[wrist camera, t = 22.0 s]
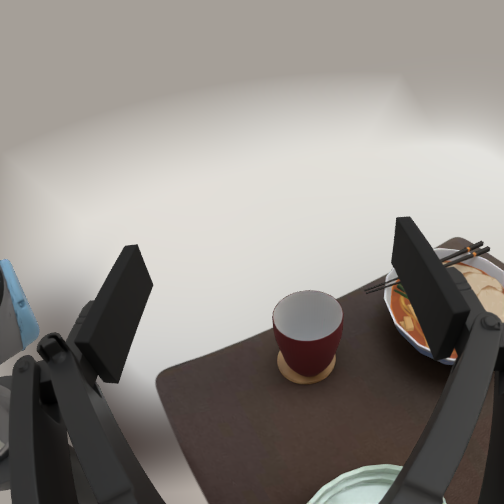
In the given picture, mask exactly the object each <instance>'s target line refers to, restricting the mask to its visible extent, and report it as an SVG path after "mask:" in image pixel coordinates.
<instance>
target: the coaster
mask: <svg viewBox="0 0 504 504" xmlns="http://www.w3.org/2000/svg"><path fill="white" fill-rule="evenodd" d="M277 362H278V368H279V370H280V372H281V374H282V375H283V376H284V377H285V378H287V379H288V380H290V381H292V382H294V383H297V384H313V383H317V382H319V381H322V380H323V379H325V378H326V377H327V376H329V375H330V373H331V372H332V371H333V369H334V366H335V362H336V355H334V358H333V360H332V362H331V363H330V365H329V366H328V367H327V368H326V369H325V370H324V371H322V372H321V373H319V374H318V375H315V376H312V377H305V376H302V375H300V374H298V373H296V372H295V371H293V370H292V369H291V368H290V367H289V366H288V365H287V363H286V362H285V360H284V358H283V355H282V353H281V351H280V352H279V354H278V358H277Z"/></svg>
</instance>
